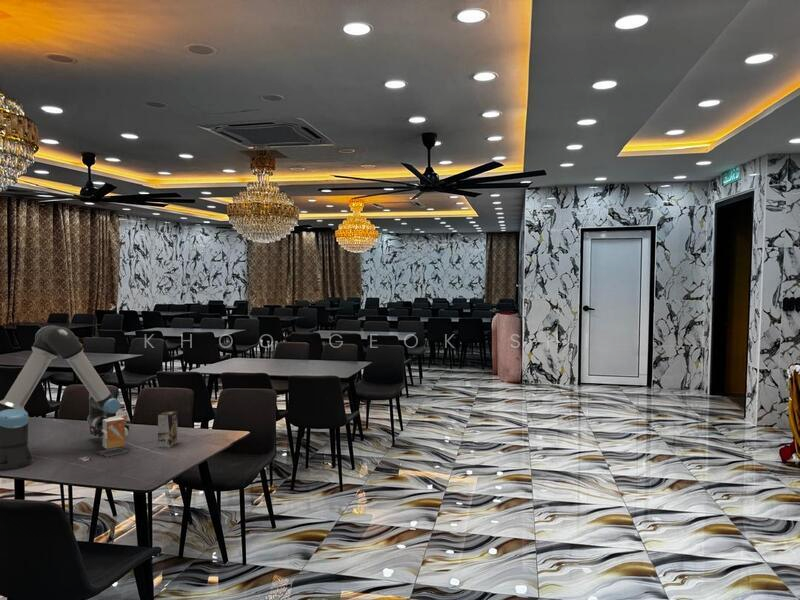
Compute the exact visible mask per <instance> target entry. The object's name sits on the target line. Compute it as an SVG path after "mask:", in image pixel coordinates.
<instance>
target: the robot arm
mask: <svg viewBox="0 0 800 600" xmlns="http://www.w3.org/2000/svg"><path fill="white" fill-rule="evenodd" d="M31 351H32V353H31V355H29V358H28V359H27V361H26V362H25V364H24V366H23V368H22V370H21V371H20V372H19V374H18V375H17V378H16V379H15V381H14V383H12V385H11V387H10V389H9V390H8V392H7V394H6V395H5V396H4V399H1V400H0V471H4V470H5V471H7V470H16V469H19V468H24V467H27V466H29V465H31V464H33V463H34V456H33V454H32V451H31V449H30V446H29V420H30V418H29V413H28V411H27V410H25V405H26V404H27V402H28V400H29V399H30V397H31V395H32V393H33V392H34V390H35V388H36V387H37V385H38V383H39V382H40V380H41V379H42V377H43V375H44V373H45V372H46V370H47V369H48V367H49V366H50V364H51V361H52V360H54V359H58V357H59V356H60V357H61V358H62V359H63V361H66V362H67V363H68V364H69V365H70V367H71V368H72V370H73V371H74V372H75V374H76V376H77V377H78V379H79V380H80V381H81V383H82V384H83V385H84V387H85V389H86V390H87V391H88V392H89V393H88V404H89V405H88V407H89V408H88V409H89V411H88V416H87V418H86V419H87V423H88V425H89V427H90V426H91V432H93V434H92V435H93V437H97V435H98V438H101V437H102V438H103V437H104V438H105V439H106V438H107V432H106V431H104V430H103V419H109V418H110V417H108V416H107V414H111V415H114V414H115V413H117V412H119V410H120V408H121V401H119V399H117V398H115V397H114V395H113V394H112V393H111V391H110V390H109V388H108V387H107V386H106V384H105V382H104V381H103V380H102V378H101V377H100V375H99V373H98V372H97V371H96V369H95V367H94V366H93V365H92V363H91V361H90V360H89V358H87V356H86V354H85V353H84V347H83V346H82V344H81V343H80V341H79V339H78V338H77V336H76V335H75V334H74V332H73V331H71V330H70V329H69V328H67V327H65V326H58V325H46V326H44V327H42V328H40V329H39V330H37V332H36V333H35V337H34V342H33V344H32V345H31ZM129 431H130V425H128V424H127V423H126V424H125V436H128V435H129V433H128V432H129ZM91 432H90V433H91Z"/></svg>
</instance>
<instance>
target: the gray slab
mask: <svg viewBox="0 0 800 600" xmlns="http://www.w3.org/2000/svg"><path fill="white" fill-rule="evenodd" d="M96 452H97V454H98V453H99V454H98V455H101V456H103V455H104V457H105V456H106V458H110V457H109V456H111V457H114V456H113V455H116V456H119V455H118V454H120V455H123V454H122V453H124V454H127V453H126V452H130V451H129V450H127V449H125V448H121V447H115V448H109V449H106V450H104V449H103V450H100V451H96Z"/></svg>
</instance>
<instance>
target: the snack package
mask: <svg viewBox="0 0 800 600" xmlns="http://www.w3.org/2000/svg"><path fill="white" fill-rule="evenodd" d="M116 417H122V418H123V419H125V424H126V425H127V416H126V415H125V414H117V415H115V416H110V417H109V418H116ZM89 432H90V433H91V434H92V433H93V432H91V426H90V425H89Z"/></svg>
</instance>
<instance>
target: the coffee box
mask: <svg viewBox="0 0 800 600" xmlns="http://www.w3.org/2000/svg"><path fill="white" fill-rule="evenodd" d="M177 443H178V411H176V410H175V411H164V412H162V413H160V414H158V415H157V448H167V449H169V448H172V447H173V446H174V445H176V444H177Z"/></svg>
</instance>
